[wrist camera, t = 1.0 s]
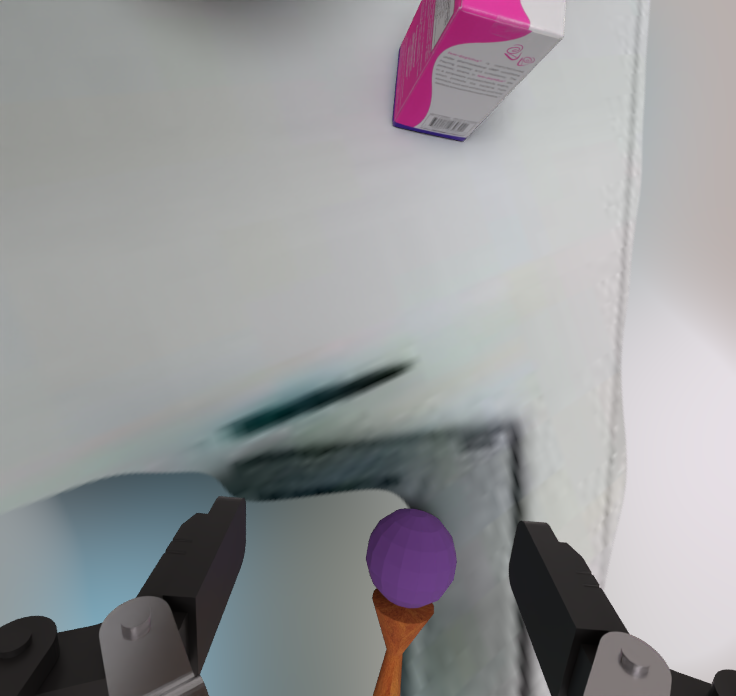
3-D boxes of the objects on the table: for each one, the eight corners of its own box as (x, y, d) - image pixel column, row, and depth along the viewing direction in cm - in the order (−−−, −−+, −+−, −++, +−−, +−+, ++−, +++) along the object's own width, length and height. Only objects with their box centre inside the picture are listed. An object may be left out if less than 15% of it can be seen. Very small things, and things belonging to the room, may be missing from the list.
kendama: (326, 834, 28) (377, 528, 27) (330, 742, 34) (371, 489, 33) (419, 843, 28) (474, 542, 27) (407, 751, 34) (451, 500, 33)
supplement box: (471, 64, 33) (578, -74, 22) (463, 143, 33) (566, 45, 22) (397, 44, 32) (471, -114, 21) (389, 127, 32) (459, 13, 21)
